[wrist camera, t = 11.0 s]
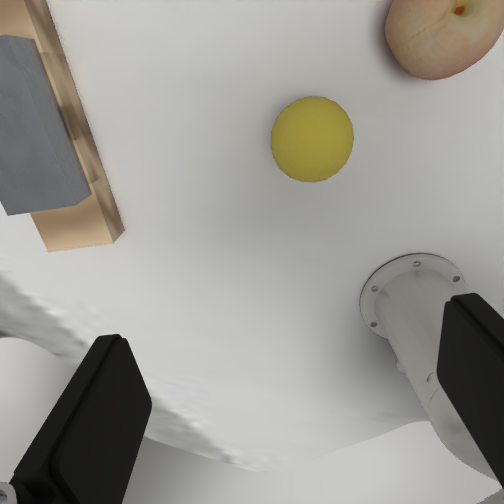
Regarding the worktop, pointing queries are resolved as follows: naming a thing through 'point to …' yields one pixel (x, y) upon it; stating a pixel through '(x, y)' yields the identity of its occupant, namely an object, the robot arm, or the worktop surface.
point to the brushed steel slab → (34, 136)
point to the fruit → (442, 34)
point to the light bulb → (312, 139)
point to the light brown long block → (101, 200)
